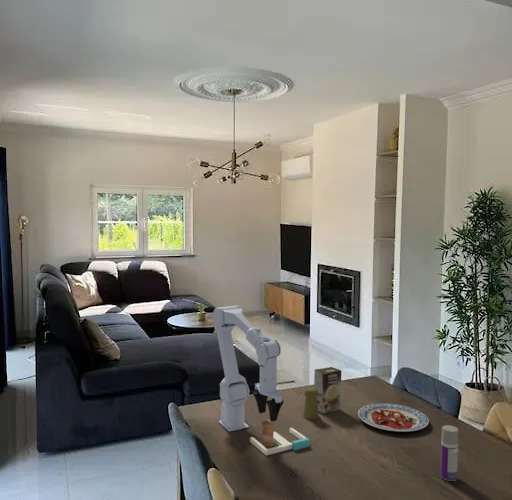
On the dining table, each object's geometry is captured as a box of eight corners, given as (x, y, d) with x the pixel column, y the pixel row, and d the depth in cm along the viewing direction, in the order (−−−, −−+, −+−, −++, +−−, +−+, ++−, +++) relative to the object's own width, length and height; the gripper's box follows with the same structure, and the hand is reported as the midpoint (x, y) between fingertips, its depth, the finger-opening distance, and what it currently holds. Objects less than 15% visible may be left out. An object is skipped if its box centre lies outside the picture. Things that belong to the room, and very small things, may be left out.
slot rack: (249, 441, 166) (250, 434, 166) (291, 431, 174) (291, 424, 174) (268, 457, 155) (268, 449, 155) (311, 445, 163) (312, 438, 163)
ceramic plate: (352, 429, 177) (352, 421, 177) (364, 404, 201) (364, 397, 201) (426, 442, 167) (427, 433, 167) (430, 414, 191) (430, 407, 191)
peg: (259, 444, 164) (259, 421, 164) (269, 441, 166) (269, 418, 166) (265, 449, 161) (265, 425, 160) (275, 446, 163) (275, 423, 162)
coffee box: (323, 414, 190) (323, 373, 189) (313, 408, 196) (313, 369, 195) (341, 409, 195) (341, 370, 194) (330, 404, 200) (331, 366, 199)
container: (437, 473, 146) (438, 425, 145) (452, 473, 146) (453, 424, 145) (444, 482, 141) (446, 432, 140) (460, 481, 141) (461, 431, 141)
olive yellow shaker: (318, 420, 184) (318, 391, 184) (302, 418, 185) (302, 390, 185) (319, 414, 190) (319, 386, 189) (303, 412, 191) (304, 385, 191)
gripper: (290, 381, 158) (289, 422, 158) (267, 369, 170) (267, 407, 171) (271, 384, 154) (270, 426, 155) (249, 372, 167) (249, 410, 168)
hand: (267, 416), depth 163 cm, fingers open, 7 cm apart
